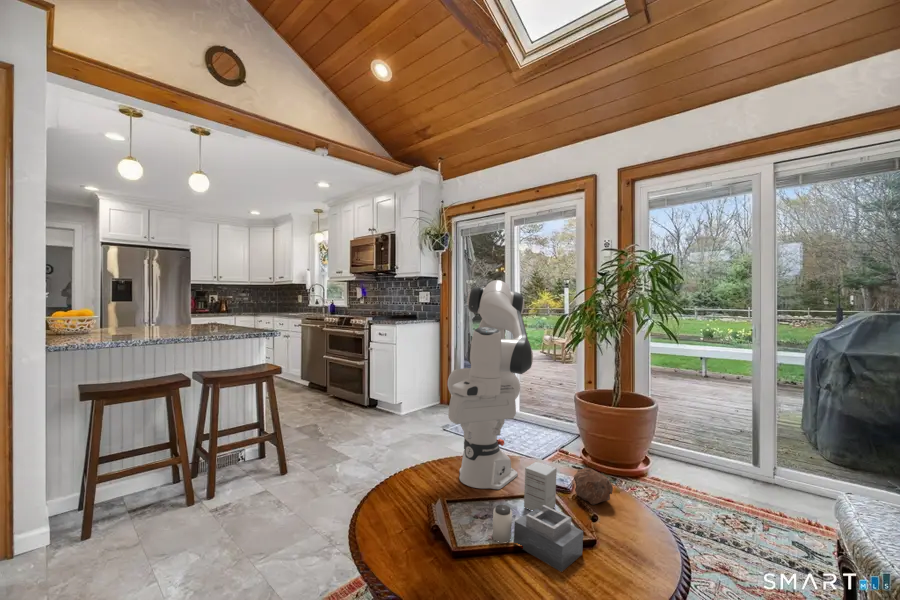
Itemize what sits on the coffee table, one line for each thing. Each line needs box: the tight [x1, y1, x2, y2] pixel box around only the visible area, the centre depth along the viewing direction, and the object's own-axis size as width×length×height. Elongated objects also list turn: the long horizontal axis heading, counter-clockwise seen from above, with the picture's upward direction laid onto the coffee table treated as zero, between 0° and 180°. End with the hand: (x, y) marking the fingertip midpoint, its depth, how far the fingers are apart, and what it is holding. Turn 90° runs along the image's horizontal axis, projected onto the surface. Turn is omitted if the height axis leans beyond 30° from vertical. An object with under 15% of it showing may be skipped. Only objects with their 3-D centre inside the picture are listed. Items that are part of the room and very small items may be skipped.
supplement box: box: [523, 461, 557, 511], centre depth 122 cm, size 7×7×13 cm
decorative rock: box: [573, 467, 614, 505], centre depth 129 cm, size 13×11×10 cm
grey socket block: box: [513, 505, 584, 573], centre depth 103 cm, size 13×14×8 cm
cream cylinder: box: [491, 503, 513, 543], centre depth 106 cm, size 5×5×8 cm
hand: (482, 436), depth 109 cm, fingers open, 8 cm apart
